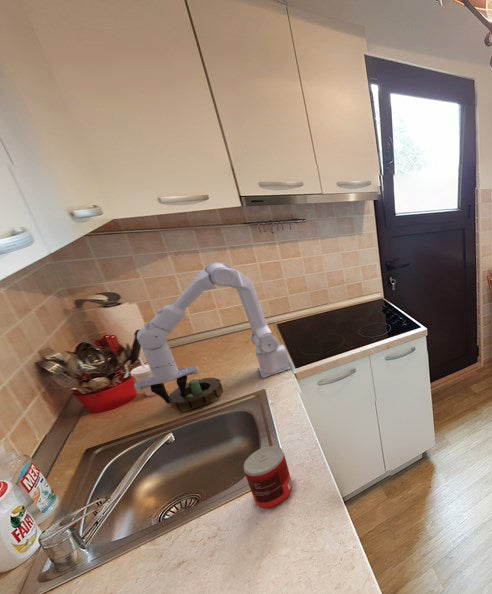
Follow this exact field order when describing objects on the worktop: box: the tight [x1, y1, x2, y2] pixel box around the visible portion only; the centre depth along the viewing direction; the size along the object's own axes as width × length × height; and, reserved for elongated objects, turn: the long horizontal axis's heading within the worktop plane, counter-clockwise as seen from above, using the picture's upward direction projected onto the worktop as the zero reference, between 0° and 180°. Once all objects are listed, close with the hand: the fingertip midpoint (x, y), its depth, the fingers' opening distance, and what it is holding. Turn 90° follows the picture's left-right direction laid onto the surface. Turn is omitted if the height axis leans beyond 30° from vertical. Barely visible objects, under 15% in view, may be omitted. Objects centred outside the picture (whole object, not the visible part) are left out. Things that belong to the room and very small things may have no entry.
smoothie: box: [129, 356, 156, 397], centre depth 111 cm, size 6×6×14 cm
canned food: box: [243, 445, 293, 510], centre depth 75 cm, size 8×8×11 cm
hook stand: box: [181, 378, 218, 413], centre depth 108 cm, size 9×9×7 cm
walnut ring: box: [168, 377, 224, 411], centre depth 109 cm, size 13×13×3 cm
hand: (176, 399), depth 106 cm, fingers open, 3 cm apart
